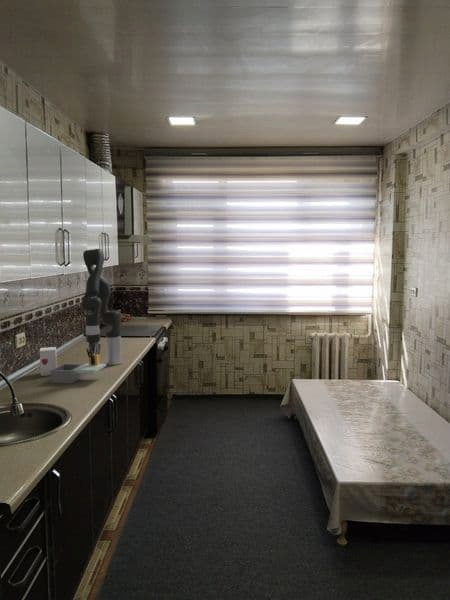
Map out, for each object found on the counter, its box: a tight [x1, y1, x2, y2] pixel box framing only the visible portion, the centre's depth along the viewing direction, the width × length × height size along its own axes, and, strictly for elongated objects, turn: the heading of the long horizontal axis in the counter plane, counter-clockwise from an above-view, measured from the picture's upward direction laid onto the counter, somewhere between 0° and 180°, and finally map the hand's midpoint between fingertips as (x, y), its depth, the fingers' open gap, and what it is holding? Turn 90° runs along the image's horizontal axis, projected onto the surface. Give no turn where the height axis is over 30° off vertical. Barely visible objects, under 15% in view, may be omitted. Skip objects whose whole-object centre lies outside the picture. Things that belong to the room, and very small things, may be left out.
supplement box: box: [39, 346, 58, 377], centre depth 303 cm, size 9×9×15 cm
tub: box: [50, 363, 85, 384], centre depth 288 cm, size 15×12×7 cm
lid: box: [74, 353, 107, 375], centre depth 285 cm, size 15×12×8 cm
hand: (94, 363), depth 290 cm, fingers closed on lid, 3 cm apart
